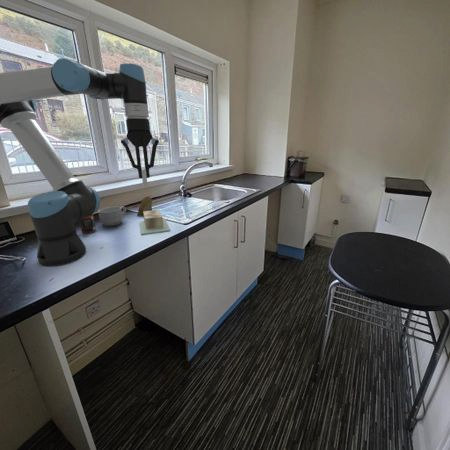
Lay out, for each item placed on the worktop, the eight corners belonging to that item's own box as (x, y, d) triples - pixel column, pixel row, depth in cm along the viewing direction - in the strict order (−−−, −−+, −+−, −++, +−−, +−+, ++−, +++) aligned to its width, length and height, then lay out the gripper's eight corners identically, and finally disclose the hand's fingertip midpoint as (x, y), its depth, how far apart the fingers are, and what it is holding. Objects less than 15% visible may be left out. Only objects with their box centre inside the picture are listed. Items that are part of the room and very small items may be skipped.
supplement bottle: (99, 230, 113) (94, 207, 109) (87, 235, 108) (81, 211, 104) (91, 228, 116) (86, 205, 112) (79, 232, 111) (73, 209, 107)
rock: (139, 214, 128) (156, 208, 134) (132, 200, 129) (150, 195, 135) (136, 221, 138) (153, 215, 143) (130, 207, 138) (146, 202, 144)
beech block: (145, 218, 112) (143, 211, 123) (146, 228, 114) (144, 220, 124) (162, 216, 115) (159, 209, 125) (163, 226, 117) (160, 218, 127)
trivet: (141, 234, 109) (141, 233, 108) (139, 222, 123) (139, 221, 123) (170, 231, 113) (170, 229, 113) (165, 219, 128) (165, 218, 128)
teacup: (106, 229, 114) (103, 213, 111) (97, 224, 121) (94, 209, 118) (133, 222, 124) (131, 207, 121) (123, 217, 131) (121, 203, 128)
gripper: (116, 117, 76) (126, 190, 85) (158, 118, 81) (164, 187, 89) (117, 118, 83) (126, 186, 91) (155, 119, 87) (161, 183, 96)
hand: (145, 186), depth 90 cm, fingers closed
